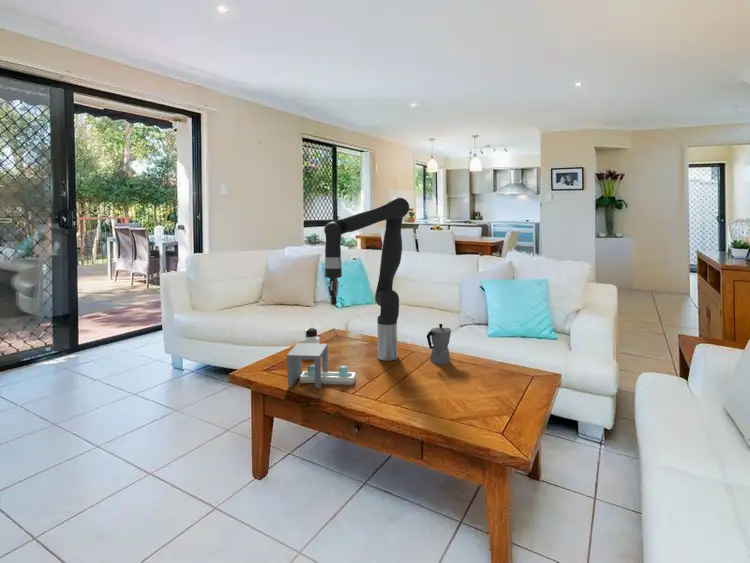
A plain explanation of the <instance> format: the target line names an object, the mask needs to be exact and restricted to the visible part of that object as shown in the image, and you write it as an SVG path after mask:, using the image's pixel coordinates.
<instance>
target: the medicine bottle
mask: <svg viewBox="0 0 750 563" xmlns="http://www.w3.org/2000/svg"><path fill="white" fill-rule="evenodd" d="M320 339H321V338H320V336H318V330H317V328H314V327H309V328H306V329H305V330H304V337H303V339H302V341H301V343H318V344H321V340H320Z"/></svg>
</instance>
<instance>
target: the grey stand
mask: <svg viewBox="0 0 750 563" xmlns="http://www.w3.org/2000/svg"><path fill="white" fill-rule="evenodd" d="M328 353H329V352H328V343H320V344H318V343H302V342H296V344H295V345H294V346H293V348H292V349H291V350H289V352H287V355H286V361H287V362H286V363H287V364H286V366H287V367H286V368H287V370H286V371H287V387H288V386H289V387H292V386H293V387H294V385H295V384H294V383H296V382H297V381H296V380H297V379H299V378H300V377H299V376H300V375H301V373H302V372H303V369H302V368H303V364H302V362H303V361H302V360H314V365H315V384H314V389H315V388H320V387H321V388H322V384H321V372H329V357H328V356H329V354H328ZM321 362H322V364H321ZM321 365H322V366H321ZM321 367H322V368H321ZM298 377H299V378H298ZM295 381H296V382H295ZM293 384H294V385H293ZM293 387H292V388H293ZM321 388H320V389H321Z"/></svg>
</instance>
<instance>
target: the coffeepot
mask: <svg viewBox="0 0 750 563" xmlns="http://www.w3.org/2000/svg"><path fill="white" fill-rule="evenodd" d="M443 324H444V323H439V324H438V326H439V327H433V328H431V329H430V331H428V332H427V335H426V339H427V344H428V347H429V349H430V350H431V352H430V358H429V360H430V362H431V363H432V364H435V365H441V366H443V365H444V366H445V365H448V364H450V362H451V359H450V358H451V356H450V350H449V344H450V338H451V335H452V334H451V333H452V330H451V328H450V327H443Z"/></svg>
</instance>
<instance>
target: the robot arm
mask: <svg viewBox="0 0 750 563" xmlns="http://www.w3.org/2000/svg"><path fill="white" fill-rule="evenodd" d="M409 210H410V203H409V202H408V200H407V199H405V198H403V197H394V198H391V199H389V201H388V202H387V203H385V204H383V205H381V206H378V207H376V208H373V209H372V208H371V209H368V210H365V211H361V212H357V213H354V214H352V215H349V216H346V217H344V218H341V219H338V220H334V221H330V222H328V223H326V224H325V225H324V227H323V228H324V229H323V231H324V235H325V246H324V248H325V249H324V253H325V254H324V276H325V278H327V279H329V281H328V288H327V289H328V292H329V296H330V302H331V305H332V306H333V305H335V306H336V305H337V300H338V299H337V298H338V297H337V296H338V293H339V280H338V279H340V278H342V276H343V273H342V271H343V270H342V269H343V268H342V267H343V266H342V264H343V263H342V257H341V256H342V253H341V252H342V249H341V248H342V247H341V241H342V240H341V239H342V235H344V234H346V233H353V232H355V231H359V230H361V229H364V228H366V227H369V226H372V225H374V224H377V223H381V222H383V221H385V230H384V236H383V240H382V241H383V242H382V247H381V254H380V255H381V256H380V267H379V274H378V282H377V286H376V290H375V295H374V298H375V299H374V300H375V303H376V304H377V305H378V306H379V307H380V313H379V315H378V316H377V325H376V326H377V328H376V329H377V359H378V360H381V361H384V362H385V361H386V362H387V361H388V362H389V361H397V358H398V319H399V314H400V313H399V312H400V296H399V294H398V293H397V292H396V290H393V287H394V286H393V284H394V278H395V276H396V273H397V271H398V269H399V267H400V265H401V261H402V256H403V255H402V253H403V239H402V225H403V219H404V217H405V216H406V215H408V212H409Z"/></svg>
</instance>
